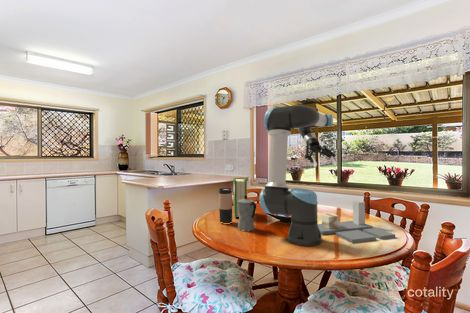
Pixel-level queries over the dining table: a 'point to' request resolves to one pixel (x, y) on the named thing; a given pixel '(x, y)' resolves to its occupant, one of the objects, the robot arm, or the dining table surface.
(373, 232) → the broken strip
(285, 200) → the robot arm
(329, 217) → the birch cube
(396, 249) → the dining table surface
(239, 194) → the hardback book
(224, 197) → the travel mug
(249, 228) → the coffeepot
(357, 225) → the grey angled piece
